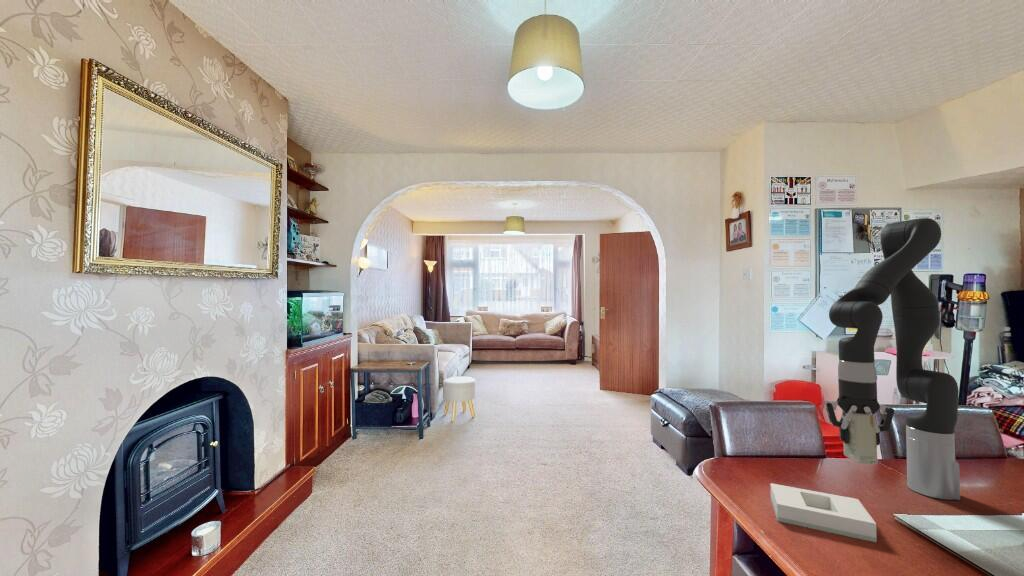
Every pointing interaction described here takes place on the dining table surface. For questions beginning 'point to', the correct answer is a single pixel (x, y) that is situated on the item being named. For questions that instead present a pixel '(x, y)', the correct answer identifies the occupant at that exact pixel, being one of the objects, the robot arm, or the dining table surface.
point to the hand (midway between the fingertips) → (859, 444)
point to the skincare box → (861, 439)
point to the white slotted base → (822, 512)
